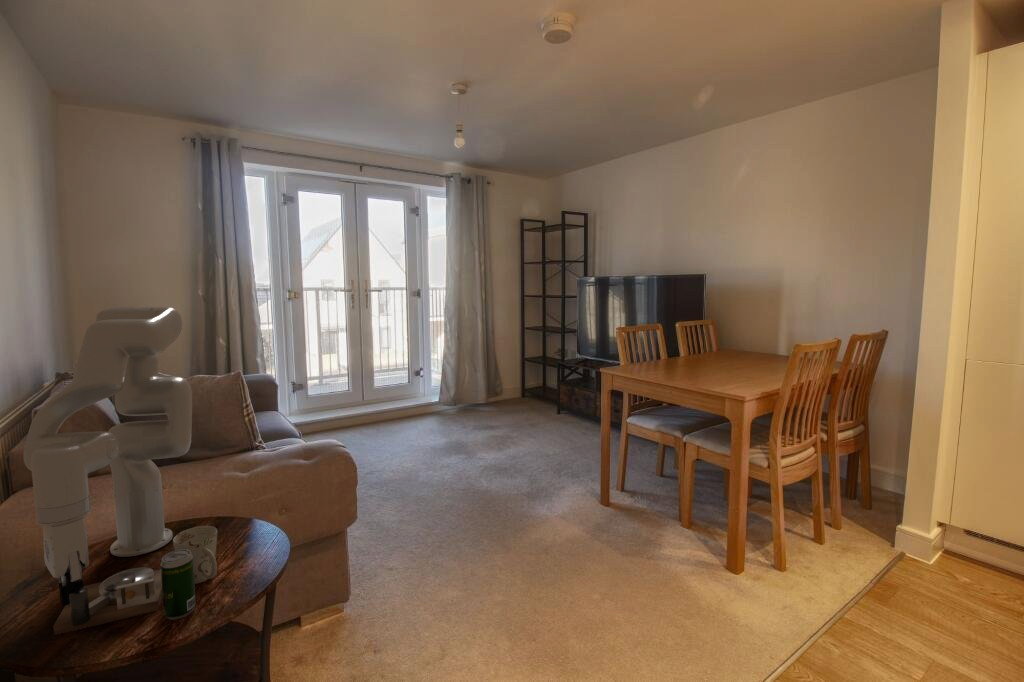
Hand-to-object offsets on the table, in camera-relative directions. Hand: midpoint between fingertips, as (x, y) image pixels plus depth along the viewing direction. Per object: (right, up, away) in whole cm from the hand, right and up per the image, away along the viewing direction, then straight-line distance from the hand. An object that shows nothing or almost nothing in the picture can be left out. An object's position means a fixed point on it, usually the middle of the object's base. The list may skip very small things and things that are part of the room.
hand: (72, 600), depth 94 cm
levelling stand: (+3, -4, +7) cm, 9 cm away
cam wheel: (+4, -2, +5) cm, 7 cm away
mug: (+15, -4, +15) cm, 22 cm away
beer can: (+18, -5, +5) cm, 19 cm away
